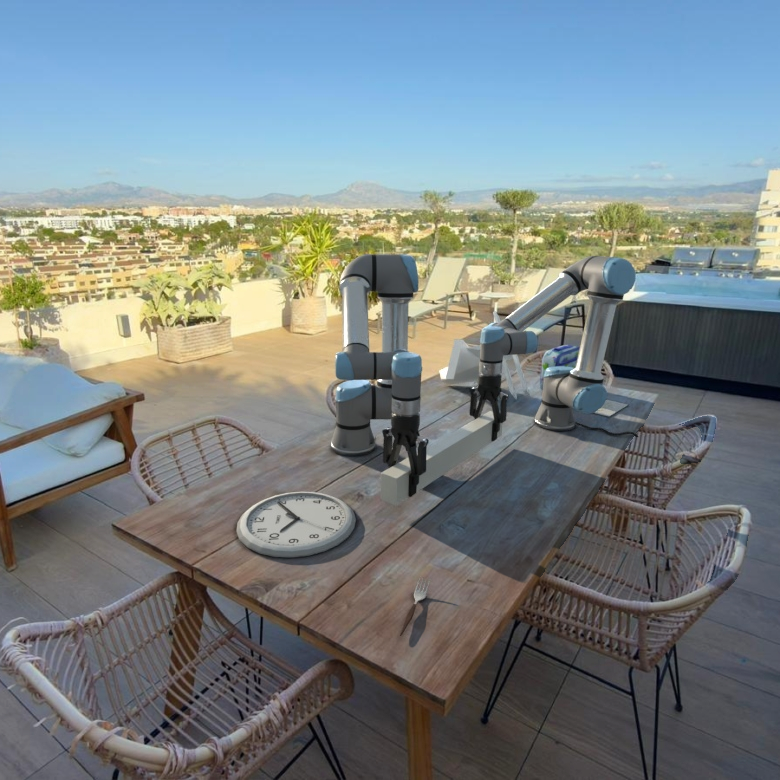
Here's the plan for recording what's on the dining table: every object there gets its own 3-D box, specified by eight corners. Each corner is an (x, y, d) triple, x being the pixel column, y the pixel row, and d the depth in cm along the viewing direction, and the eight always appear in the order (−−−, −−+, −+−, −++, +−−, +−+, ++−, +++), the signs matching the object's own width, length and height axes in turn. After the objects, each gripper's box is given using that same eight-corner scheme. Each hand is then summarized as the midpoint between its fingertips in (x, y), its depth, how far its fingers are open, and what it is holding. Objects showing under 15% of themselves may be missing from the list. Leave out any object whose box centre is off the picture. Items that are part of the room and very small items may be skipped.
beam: (488, 432, 188) (490, 410, 185) (501, 435, 185) (503, 414, 182) (380, 500, 140) (380, 472, 138) (396, 506, 137) (396, 478, 135)
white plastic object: (461, 429, 252) (437, 405, 227) (444, 352, 274) (420, 323, 250) (535, 404, 240) (518, 377, 215) (510, 326, 262) (492, 293, 237)
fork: (393, 636, 97) (393, 627, 97) (418, 584, 112) (419, 576, 111) (406, 640, 96) (407, 631, 96) (430, 587, 111) (430, 579, 110)
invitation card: (608, 416, 214) (573, 407, 224) (608, 416, 214) (573, 408, 224) (628, 404, 229) (594, 396, 238) (628, 405, 229) (594, 397, 238)
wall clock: (357, 549, 121) (224, 553, 118) (357, 555, 121) (224, 559, 118) (354, 487, 149) (247, 489, 147) (354, 492, 150) (247, 495, 147)
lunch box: (556, 397, 237) (562, 352, 231) (535, 392, 244) (540, 348, 238) (583, 386, 255) (589, 344, 248) (562, 381, 262) (567, 340, 256)
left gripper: (369, 408, 139) (368, 486, 146) (427, 425, 128) (423, 507, 136) (386, 400, 144) (385, 476, 152) (443, 416, 134) (439, 496, 141)
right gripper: (460, 371, 176) (457, 435, 183) (511, 380, 166) (506, 448, 173) (471, 366, 182) (468, 428, 189) (520, 375, 171) (515, 440, 179)
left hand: (403, 490), depth 144 cm, fingers closed on beam, 5 cm apart
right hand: (486, 437), depth 181 cm, fingers closed on beam, 5 cm apart
